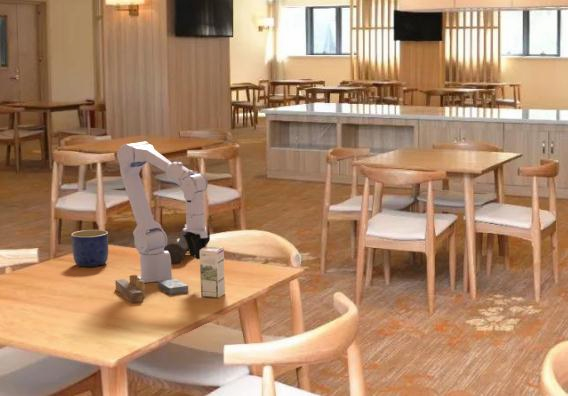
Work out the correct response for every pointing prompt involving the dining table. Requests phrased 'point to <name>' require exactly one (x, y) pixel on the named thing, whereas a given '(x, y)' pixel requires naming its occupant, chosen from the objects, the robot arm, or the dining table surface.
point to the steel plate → (173, 286)
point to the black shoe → (179, 249)
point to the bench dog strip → (131, 289)
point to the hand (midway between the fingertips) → (196, 257)
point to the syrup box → (212, 272)
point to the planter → (90, 247)
